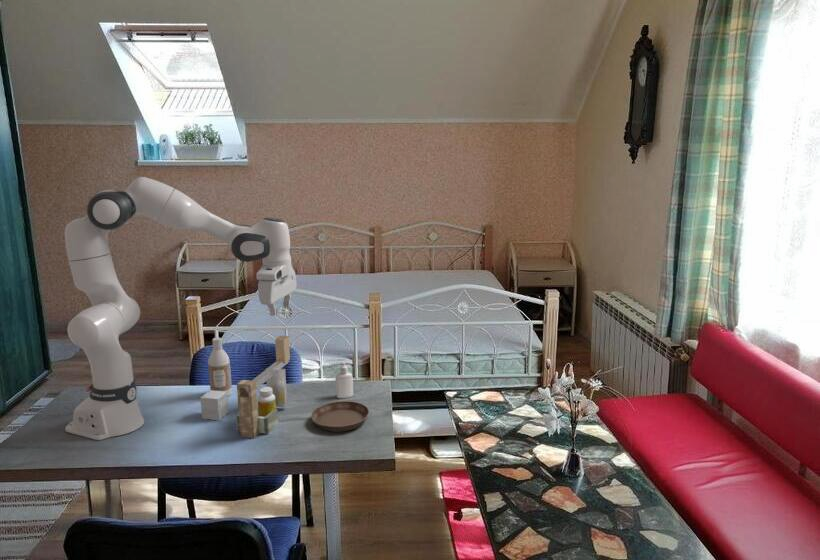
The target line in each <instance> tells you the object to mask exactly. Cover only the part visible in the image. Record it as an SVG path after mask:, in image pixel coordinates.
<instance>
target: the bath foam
mask: <svg viewBox="0 0 820 560" xmlns="http://www.w3.org/2000/svg"><path fill="white" fill-rule="evenodd" d="M212 348H213V350H212V351H211V352H210V354H209V357H208V360H207V362H208V363H207V367H208V376H209V377H208V378H209V388H210V389H209V390H212V391H226V392H227V397H230V396H231V395H232V393H233V388H232V374H231V363H230V357H229V355H228V354H227V352H226V351H225V350H224V349H223V341H222V337H213V338H212Z"/></svg>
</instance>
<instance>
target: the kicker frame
mask: <svg viewBox="0 0 820 560" xmlns="http://www.w3.org/2000/svg"><path fill="white" fill-rule="evenodd" d="M244 388H247V389H248V391H249V393H245V390H244ZM236 390H237V391H236V392H237V394H236V395H237V404H238V405H237V406H238V407H237V408H238V413H237V414H236V416H235V417H236V418H235V420H236V431H237V432H240V437H242V438H249V439H250V437H251V439H256V438H257V437H258V435H260V433H264V434H263V435H269V434H270V433H271V432H272V431H273V430H274V429H275V428H276V427H277V426H278V425H279V415H278V408H276V409H273V410H272V411H271V412H270V413H269V414H268V415H267V416H266V417H261V416H259V413H258V395H257V389H256V381H252V380H247V379H241V380H239V382H236ZM277 424H278V425H277ZM276 425H277V426H276ZM275 426H276V427H275ZM274 427H275V428H274ZM273 428H274V429H273ZM272 429H273V430H272ZM271 430H272V431H271ZM270 431H271V432H270ZM269 432H270V433H269Z"/></svg>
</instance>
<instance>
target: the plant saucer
mask: <svg viewBox="0 0 820 560" xmlns="http://www.w3.org/2000/svg"><path fill="white" fill-rule="evenodd" d="M369 415H370V409H369V408H368V406H366V405H364V404H362V403H360V402H357V401H350V400H349V401H347V400H346V401H345V400H343V401H342V400H341V401H334V402H329V403H326V404H322V405H320V406H318V407H317V408H315V409H314V410H313V411H312V412H311V420H312V421H313V422H314V424H315V425H317V426H318V428H320V429H322V430H324V431H327V432H335V433H337V432H338V433H339V432H340V433H341V432H347V431H351V430H354V429H356V428H359V427H361V426H362V424H363V423H364V422H365V421H366V419H368V416H369Z"/></svg>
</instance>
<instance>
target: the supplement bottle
mask: <svg viewBox="0 0 820 560" xmlns="http://www.w3.org/2000/svg"><path fill="white" fill-rule="evenodd" d="M258 389H259V390H258V391H259V392H258V394H259V395H257V408H258V416H261V417H266V416H267V415H268V414H269V413H270V412H271V411H272V410H273V409H277V407H276V401H275V395H274V394H272V393H273V391H272V388H271V387H267V386H263V387H259V388H258Z"/></svg>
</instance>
